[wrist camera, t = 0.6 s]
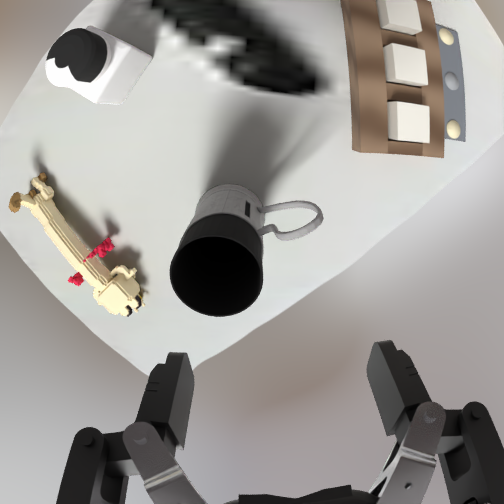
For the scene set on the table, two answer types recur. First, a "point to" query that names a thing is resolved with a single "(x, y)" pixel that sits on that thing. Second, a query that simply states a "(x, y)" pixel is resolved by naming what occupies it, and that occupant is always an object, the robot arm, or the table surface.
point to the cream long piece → (82, 253)
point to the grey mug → (227, 250)
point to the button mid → (405, 65)
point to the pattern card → (452, 84)
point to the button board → (380, 92)
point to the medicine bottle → (95, 65)
